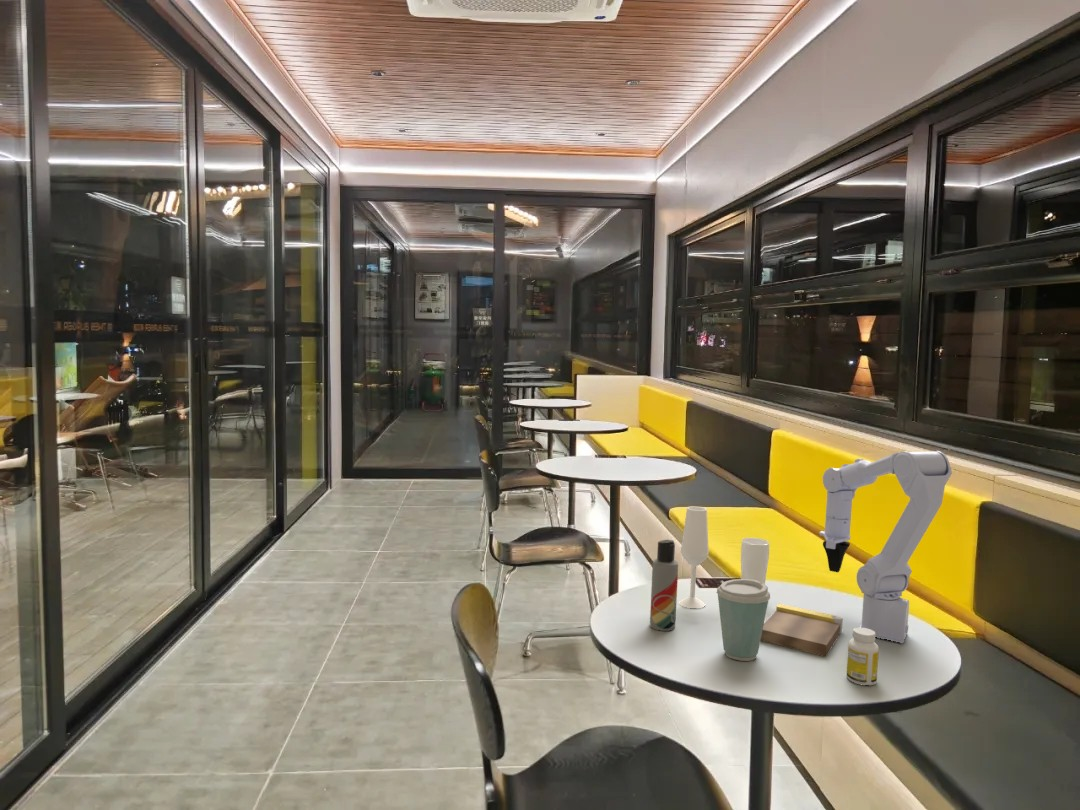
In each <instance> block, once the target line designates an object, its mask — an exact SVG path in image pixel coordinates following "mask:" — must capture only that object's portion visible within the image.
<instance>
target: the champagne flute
mask: <svg viewBox="0 0 1080 810" xmlns="http://www.w3.org/2000/svg"><path fill="white" fill-rule="evenodd" d="M682 532H683V533H682V540H681V547H680V555H681V556H682V558H683V559H684V560H685V561H686V562H687V564H689V565H690V566H691V569H690V570H691V571H690V591H689V596H687V597H685V598H682V599H681V600H679V601H678V603H677V604H678V605H679V606H681V607H682V606H683V607H682V608H685V607H687V608H686V609H690V608H701V607H704V606H705V605H706V603H705V604H704V601H702V600H700V599H699V598H697V597H696V584H697V583H696V581H697V580H696V579H697V567H698V566H700V565H701V564H702V563H704V562H705V560H706V559H707V558H708V556H709V552H710V551H709V550H710V549H709V529H708V509H707V508H706V507H704V506H696V505H695V506H693V505H691V506H687V507H686V513H685V519H684V527H683V531H682ZM705 607H706V606H705ZM705 607H704V608H705ZM701 609H702V608H701Z"/></svg>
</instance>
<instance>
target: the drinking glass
mask: <svg viewBox="0 0 1080 810" xmlns="http://www.w3.org/2000/svg"><path fill="white" fill-rule="evenodd" d="M769 558H770V542H769V540H766V539H762V538H758V537H746V538H745V537H744V538H742V539H741V548H740V571H741V572H740V573H741V575H740V576H741V579H750V580H756V581H759V582H762V583H764V584H765V585H766V579H767V572H768V568H769V567H768V566H769V560H770V559H769Z"/></svg>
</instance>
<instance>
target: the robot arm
mask: <svg viewBox="0 0 1080 810" xmlns="http://www.w3.org/2000/svg"><path fill="white" fill-rule="evenodd" d="M952 471H953V470H952V468H951V464H950V461H949V458H948V457H947V455H946V454H945V453H943V452H942V451H939V450H932V451H906V450H905V451H900V452H894V453H891V454H890V455H887V456H884V457H882V458H880V459H877V460H875V461H869V460H867V459H864V458H857V459H854V463H850V464H849V463H844V464H841V467H839V468H835V467H829V468H828V469H825V471H824V473H823V476H822V484H823V487H824V488H825V490H826V507H825V509H826V510H825V522H824V531H823V530H821V531H819V532H818V533H819V536H822V537H823V538H824V539H825V540H823V542H822V547H823V549H824V552H825V554H826V556H827V558H826V559H827V563H828V571H829V572H833V573H840V571H841V569H842V566H843V565H842V564H843V561H844V557H845V555H846V552H847V551H848V549H849V547H850V546H851V543H850V542H848V541H850V540H851V537H852V536H851V535H850V534H851V524H852V523H851V521H852V509H853V508H852V506H853V505H852V504H853V499H854V498H855V496H856V491H857V490H858V488H862V487H865V486H868V485H872V484H874V483H875V482H876V481H877V479H878V477H880V476H885V475H888V474H892V475H895V477H896V479H897V481H898V483H899V484H900V486H901V488H902V491H903V493H904V494H905V496H908V498H909V501H908V502H907V505H906V506H905V508H904V510H903V512H902V514H901V515H900V517H899V519H898V520H897V522H896V525H895V526H894V528H893V530H892V532H891V533H890V535H889V537H888V539H887V541H886V543H885V544H884V546H883V548H882V550H881V551H880V552H879V553H878V554H876V555H874V556H873V557H871V558H869V559H867V561H866V563H865V565H863V566H860V567H859V568H858V570H857V572H856V583H857V586H858V588H859V589H860V591H861V593H862V594H863V596H862V597H863V602H862V611H861V612H862V613H861V623H860V625H859V627H861V628H867V629H871V630H873V631H874V632H875V634H876V635H875V637H877V638H876V639H880V638H881V639H880V640H884V639H887V640H886V641H888V640H891V641H890V642H893V641H896V642H895V643H897V642H900V643H899V644H904V642H905V640H904V639H906V638H907V637H906V636H907V635H906V634H908V633H909V632H908V631H909V614H910V613H909V611H910V601H909V600H908V599H905V598H903V597H902V596H903V595H902V594H903V592H904V591H906V590H907V588H908V587H909V582H910V581H909V579H910V576H911V575H912V572H913V571H912V569H911V567H910V565H909V563H908V562H909V560H910V559H911V557H912V555H913V554H914V552H915V550H916V548H917V547H918V545H919V544H920V542H921V540H922V538H923V537H924V536H925V533H926V532H927V530H928V528H929V527H930V525H931V523H932V522H933V520H934V518H935V516H936V515H937V513H938V511H939V509H940V508H941V506H942V504H943V499H944V494H945V493H944V492H945V488H946V485H947V483H948V481H949V480H950V478H951V476H952V475H953V472H952Z"/></svg>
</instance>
